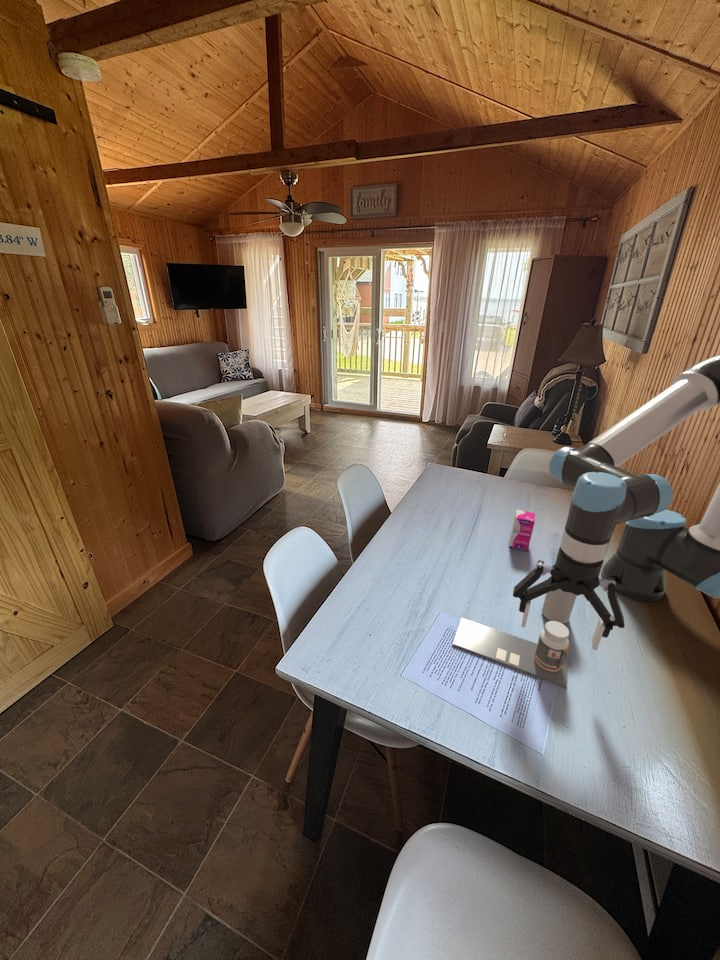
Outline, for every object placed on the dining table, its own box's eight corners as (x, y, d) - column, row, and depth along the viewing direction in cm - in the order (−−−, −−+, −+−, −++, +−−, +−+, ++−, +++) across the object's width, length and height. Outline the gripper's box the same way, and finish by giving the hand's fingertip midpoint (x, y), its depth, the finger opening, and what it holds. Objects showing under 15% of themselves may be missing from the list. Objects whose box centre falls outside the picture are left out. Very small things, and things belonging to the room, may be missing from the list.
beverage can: (557, 629, 96) (568, 591, 91) (535, 612, 101) (545, 575, 96) (574, 620, 98) (586, 583, 93) (552, 604, 104) (563, 567, 98)
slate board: (566, 655, 89) (567, 653, 88) (566, 688, 81) (566, 685, 81) (461, 619, 98) (461, 617, 98) (452, 645, 91) (452, 643, 91)
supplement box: (508, 547, 126) (515, 517, 121) (509, 538, 131) (515, 508, 126) (527, 551, 124) (535, 521, 119) (528, 542, 129) (535, 512, 124)
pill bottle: (564, 675, 84) (576, 641, 79) (536, 670, 85) (545, 637, 80) (558, 653, 89) (568, 621, 84) (531, 649, 90) (540, 616, 85)
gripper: (657, 558, 71) (624, 641, 81) (514, 526, 82) (499, 603, 91) (665, 583, 65) (628, 669, 75) (509, 546, 76) (494, 626, 85)
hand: (557, 633), depth 83 cm, fingers open, 13 cm apart
